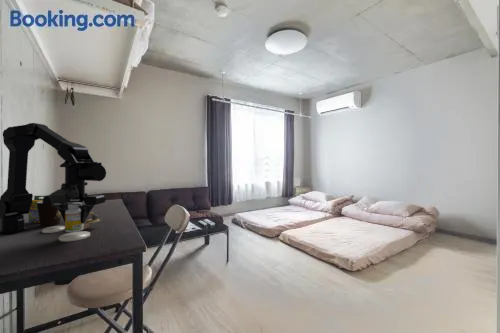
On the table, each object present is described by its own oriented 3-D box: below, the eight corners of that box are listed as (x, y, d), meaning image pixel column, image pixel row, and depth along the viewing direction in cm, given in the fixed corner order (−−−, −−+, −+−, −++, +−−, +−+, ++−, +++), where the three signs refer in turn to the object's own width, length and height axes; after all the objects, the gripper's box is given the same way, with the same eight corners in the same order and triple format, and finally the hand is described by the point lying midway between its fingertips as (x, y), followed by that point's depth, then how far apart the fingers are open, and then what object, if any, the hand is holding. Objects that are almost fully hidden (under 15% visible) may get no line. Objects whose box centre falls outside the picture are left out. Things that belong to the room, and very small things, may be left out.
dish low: (51, 241, 77) (51, 239, 77) (72, 233, 86) (72, 231, 86) (78, 241, 77) (78, 239, 77) (95, 233, 86) (95, 231, 86)
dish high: (36, 233, 86) (36, 230, 86) (52, 227, 93) (52, 225, 93) (55, 233, 86) (55, 231, 86) (69, 227, 93) (69, 226, 93)
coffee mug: (47, 228, 92) (47, 203, 92) (31, 226, 94) (31, 202, 93) (75, 220, 103) (75, 199, 103) (59, 219, 105) (59, 198, 105)
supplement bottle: (71, 227, 84) (72, 202, 84) (87, 227, 85) (87, 202, 84) (61, 232, 79) (61, 204, 79) (77, 232, 79) (77, 204, 79)
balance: (52, 229, 90) (52, 207, 90) (63, 226, 95) (63, 204, 95) (94, 230, 90) (94, 207, 90) (102, 226, 95) (102, 205, 95)
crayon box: (28, 222, 99) (28, 196, 99) (34, 221, 102) (34, 195, 101) (45, 223, 99) (45, 196, 99) (51, 221, 102) (51, 195, 102)
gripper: (27, 181, 73) (27, 229, 73) (85, 182, 73) (84, 230, 74) (56, 178, 84) (56, 220, 85) (106, 180, 85) (106, 221, 85)
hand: (74, 223), depth 82 cm, fingers closed on supplement bottle, 5 cm apart
